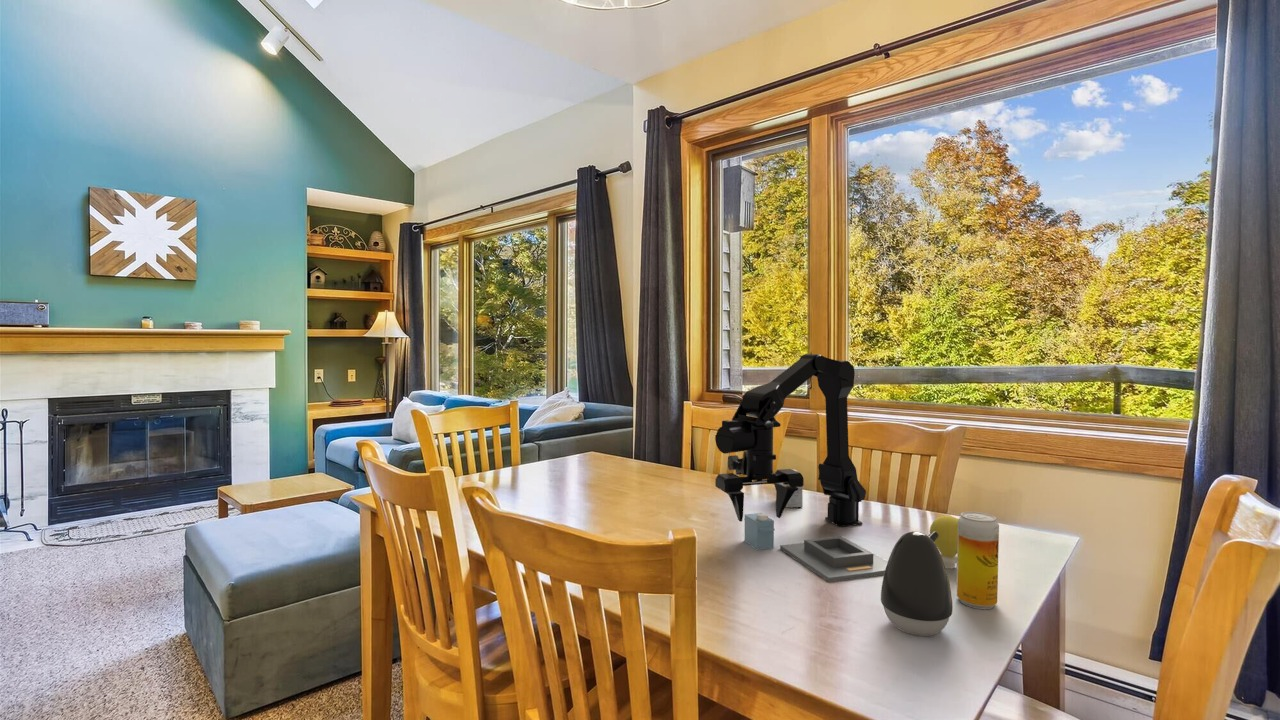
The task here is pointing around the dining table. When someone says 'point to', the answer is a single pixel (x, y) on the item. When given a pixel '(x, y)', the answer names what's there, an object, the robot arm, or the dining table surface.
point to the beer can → (977, 560)
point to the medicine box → (796, 498)
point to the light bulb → (946, 539)
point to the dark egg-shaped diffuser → (917, 586)
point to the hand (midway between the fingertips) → (759, 519)
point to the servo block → (759, 531)
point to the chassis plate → (836, 558)
